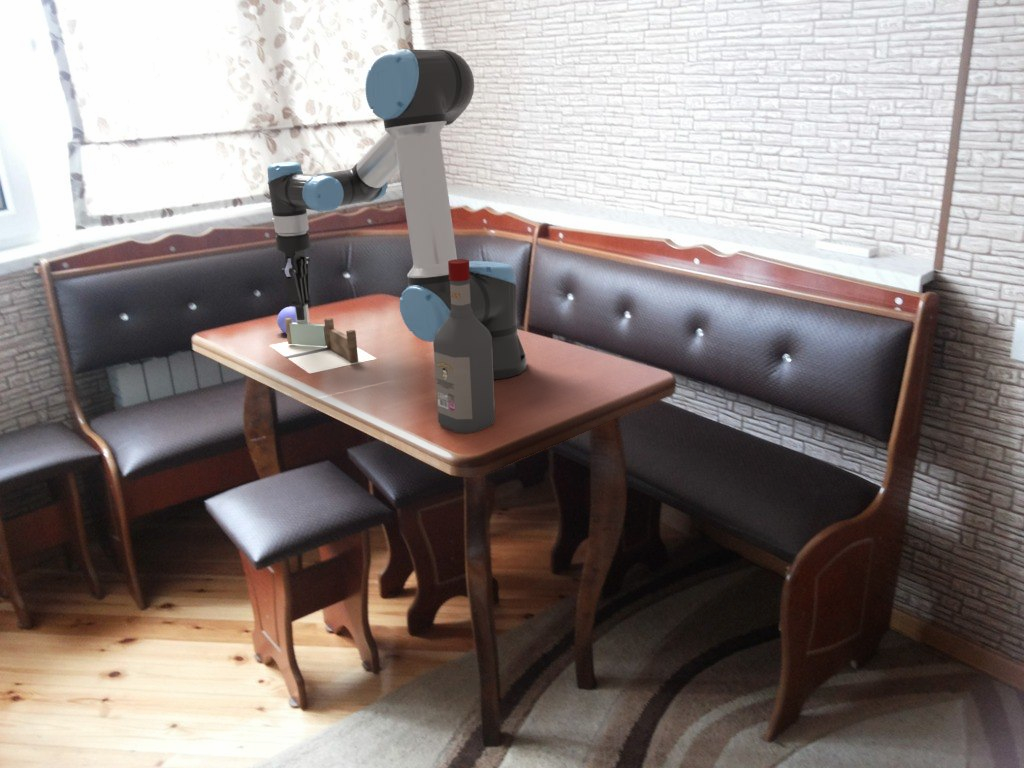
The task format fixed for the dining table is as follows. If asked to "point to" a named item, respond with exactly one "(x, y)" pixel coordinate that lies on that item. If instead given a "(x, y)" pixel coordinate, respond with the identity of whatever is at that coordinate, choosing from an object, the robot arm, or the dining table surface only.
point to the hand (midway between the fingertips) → (304, 331)
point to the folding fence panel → (305, 333)
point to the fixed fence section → (341, 341)
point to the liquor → (463, 361)
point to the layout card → (316, 356)
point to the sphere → (286, 313)
